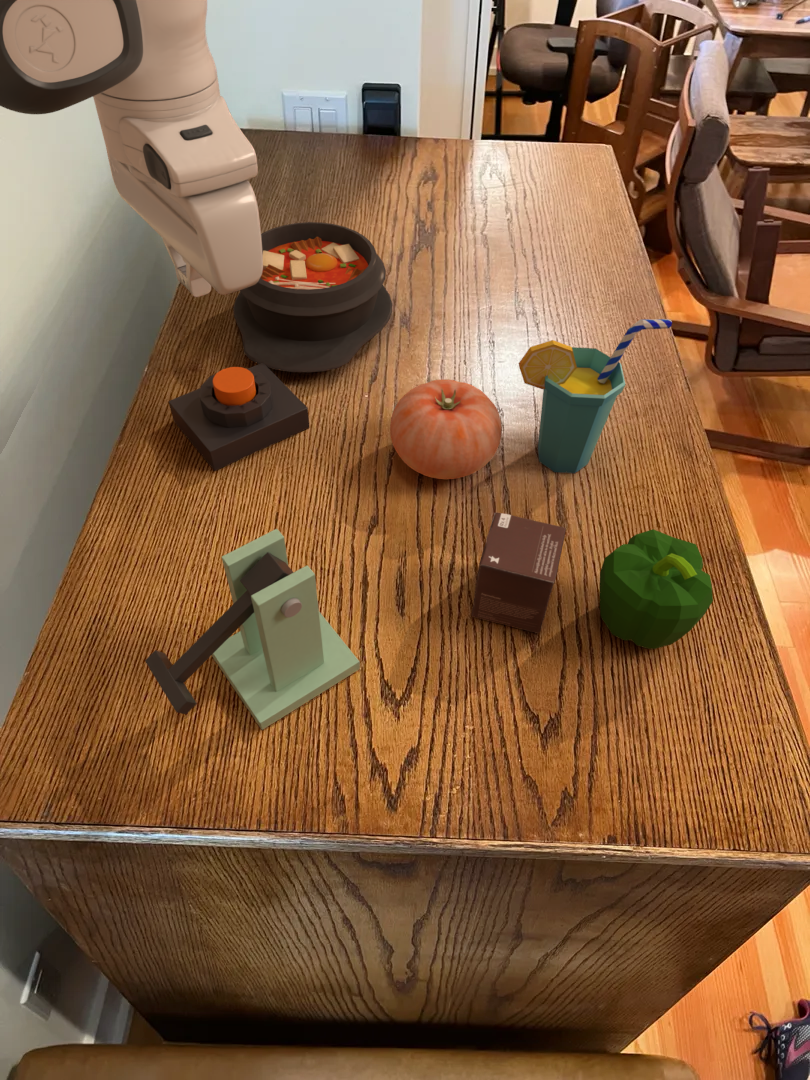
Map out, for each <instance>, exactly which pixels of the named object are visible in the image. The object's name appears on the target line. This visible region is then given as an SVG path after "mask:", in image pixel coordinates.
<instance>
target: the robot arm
mask: <svg viewBox="0 0 810 1080" xmlns="http://www.w3.org/2000/svg"><path fill="white" fill-rule="evenodd" d="M207 14H208V0H0V107H1V108H4V109H7V110H9V111H12V112H15V113H19V114H24V115H47V114H51V113H55V112H59V111H62V110H64V109H67V108H69V107H73V106H74V105H77V104H79V103H82V102H84V101H86V100H89V99H91V98H92V99H93V102H94V106H95V110H96V113H97V119H98V121H99V125H100V129H101V134H102V137H103V141H104V145H105V149H106V150H105V151H106V154H107V159H108V163H109V168H110V173H111V177H112V180H113V183H114V186H115V188H116V190H117V193H118V195H119V196H120V198H121V199H122V200H123V201H124V202H125V203H126V204H127V205H128V206H130V207H131V209H133V210H134V212H136V213H137V214H138V216H140V218H141V219H143V220H144V221H145V222H146V223H147V224H148V225H149V226H150V227H151V229H153V230H154V231H155V232H156V233H157V234H158V235H159V236H160V237H161V239H162V242H163V244H164V246H165V249H166V251H167V253H168V255H169V257H170V259H171V261H172V263H173V265H174V269H175V274H176V279H177V281H178V282H179V283H180V284H181V285H182V286H183V287H185V289H186V290H187V291H188V292H189V293H190V295H192V297H194V298H199V297H202V296H206V295H208V294H209V293H211V291H212V288H213V289H214V291H216V292H217V293H218V294H220V295H222V296H225V295H230V294H232V293H236V292H240V291H239V290H242V289H245V288H248V287H250V286H253V285H255V284H257V282H258V281H259V279H260V277H261V275H262V272H263V254H262V240H261V234H262V231H261V229H262V228H261V221H260V214H259V213H260V212H259V206H258V201H257V197H256V194H255V191H254V189H253V186H252V184H251V182H250V181H249V180H251V179H252V178H255V177H257V176H258V174H259V173H258V172H259V168H258V167H259V165H258V158H257V154H256V150H255V148H254V146H253V145H252V143H251V142H250V141H249V139H248V138H247V137H246V135H245V134H244V132H243V131H242V130H241V128H240V127H239V125H238V124H237V121H236V120H235V119H234V117H233V115H232V114H231V112H230V109H229V106H228V104H227V102H226V99H225V98H224V97H223V96H222V95H221V91H220V84H219V78H218V70H217V65H216V62H215V59H214V57H213V53H212V52H211V49H210V47H209V42H208V37H207V30H206V29H207V26H206V25H207V24H206V23H207Z"/></svg>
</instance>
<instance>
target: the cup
mask: <svg viewBox="0 0 810 1080" xmlns="http://www.w3.org/2000/svg"><path fill="white" fill-rule="evenodd" d="M672 325H673V321H672V319H670V318H653V319H652V318H651V319H645V318H644V319H641V318H640V319H639V320H637V321H636V322H635V323H633V324H632V325H631V326H630V327H629V328H628V329H627V330H626V332H625V333H624V335H623V337H622V338H621V340H620V342H619V343H618V344H617V346H616V347H615V349H614V351H613V353H612V354H611V356H609V355H608V354H606V353H604V352H602V351H601V350H600V349H597V348H593V347H574V346H571V345H567V344H564V343H562V342H559V341H557V340H554V339H551V340H549V341H548V340H547V341H544V342H541V343H539V344H535V345H532V346H529V348H528V349H527V351H526V352H525V354H524V355H523V356H522V358H521V359H520V361H519V362H518V368H519V370H520V374H521V377H522V380H523V383H524V384H525V385H528V386H532V387H534V388H537V389H540V390H542V391H543V392H542V399H541V400H542V402H541V410H540V411H541V412H540V419H539V420H540V422H539V430H538V433H539V434H538V442H537V454H538V462H539V463H541V464H542V465H543V466H545V467H546V468H547V469H549V470H550V471H552V473H559V474H560V473H562V474H576V473H577V472H579V471H581V470H582V469H583V468H585V467H586V466H587V465H589V463H590V461H591V458H592V456H593V454H594V451H595V449H596V446H597V444H598V442H599V439H600V436H601V434H602V432H603V430H604V427H605V425H606V423H607V420H608V418H609V417H610V413H611V412H612V410H613V407H614V405H615V402H616V400H617V397H618V396H619V395H620V394H622V393H623V391H624V389H625V387H626V381H625V375H624V370H623V366H622V363H621V362H620V360H621V359H622V357H623V356H624V354H625V353H626V351H627V349H628V348H629V346H630V344H631V343H632V342H633V340H634V338H635V337H636V335H637V334H638V333H639V332H641V331H644V330H664V329H665V330H666V329H670V328H671V327H672Z"/></svg>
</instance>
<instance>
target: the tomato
mask: <svg viewBox="0 0 810 1080" xmlns="http://www.w3.org/2000/svg"><path fill="white" fill-rule="evenodd" d="M502 431H503V430H502V421H501V417H500V414H499V410H498V408H497V406H496V405H495V403H494V402H493V401H492V400H491V399H490V398H489V397H488V395H487V394H485V392H484V391H482V390H481V389H479V388H478V387H476V386H474V385H473V384H470V383H468V382H462V381H457V380H454V379H434V380H433V379H432V380H430V381H428V382H425V383H421V384H418V385H416V386H414V387H412V388H411V389H410V390H409V391H407V392H406V393H405V394H404V395H403V396H402V397H401V398H400V399H399V400H398V402H397V403H396V405H395V407H394V408H393V412H392V414H391V417H390V426H389V435H390V440H391V443H392V447H393V448H394V451H395V452H396V453H397V455H398V456H399V458H400V459H401V461H402V462H403V463H404V464H405V465H406V466H407V467H409V468H410V469H411V470H413V471H415V472H416V473H419V474H421V475H423V476H426V477H429V478H432V479H437V480H438V479H439V480H454V479H455V480H456V479H460V478H464V477H468V476H470V475H472V474H474V473H476V472H478V471H481V469H482V468H484V467H485V466H487V464H488V463H489V462H491V460H492V459H493V457H494V456H495V454H496V453H497V451H498V449H499V447H500V444H501V439H502Z"/></svg>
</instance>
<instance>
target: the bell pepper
mask: <svg viewBox="0 0 810 1080" xmlns="http://www.w3.org/2000/svg"><path fill="white" fill-rule="evenodd" d="M703 567H704V561H703V556H702V554H701V552H700V550H699V548H698V545H697V544H696V543H693V542H690V541H687V540H684V539H681V538H677V537H673V536H671V535H668V534H666V533H664V532H661V531H659V530H656V529H654V528H653V529H652V528H651V529H649V530H646V531H643V532H640V533H637V534H634V535H633V536H632V537H630V538H629V539H628V542H627V543H622V544H621V545H620V546H618V547H617V548H615V549H614V550H613V551H612V552H611V553H609V554H608V555H606V556H605V557H604V559H603V562H602V564H601V568H600V570H599V571H600V572H599V613H600V614H599V615H600V619H601V620H602V621H603V623H604V624H605V626H606V627H607V629H608V630H609V632H610V633H611V635H612V636H614V637H616V638H618V639H620V640H623V641H624V642H627V641H632V642H633V643H634V644H635V646H638V647H641V648H645V649H647V650H655V649H659V648H663V647H667V646H671V645H673V644H674V643H676V642H677V641H679V640H680V639H682V638H683V637H684V636H685V635H687V634H688V633H689V632H691V630H692V629H693V628H694V627H695V626H696V625H697V624H698V623H699V621H701V619H702V618H703V617H704V616H705V615H706V613H707V611H708V609H709V608H710V606H711V605H712V603H713V601H714V596H713V586H712V579H711V575H710V574H709V573H708V572H705V571H703Z"/></svg>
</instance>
